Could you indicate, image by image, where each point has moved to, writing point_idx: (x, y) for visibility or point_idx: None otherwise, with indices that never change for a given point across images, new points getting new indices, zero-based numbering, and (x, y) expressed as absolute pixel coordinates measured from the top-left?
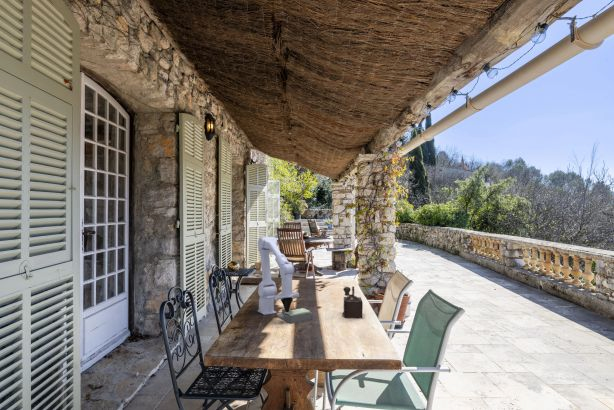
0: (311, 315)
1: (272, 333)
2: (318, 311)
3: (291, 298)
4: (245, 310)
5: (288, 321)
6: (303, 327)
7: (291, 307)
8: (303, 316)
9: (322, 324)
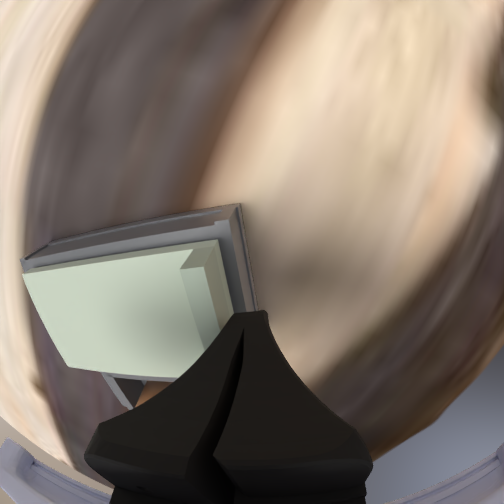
0: (38, 252)
1: (460, 67)
2: (31, 348)
3: (120, 481)
4: None
5: (247, 252)
6: (171, 62)
7: None
8: (89, 242)
9: (33, 109)
